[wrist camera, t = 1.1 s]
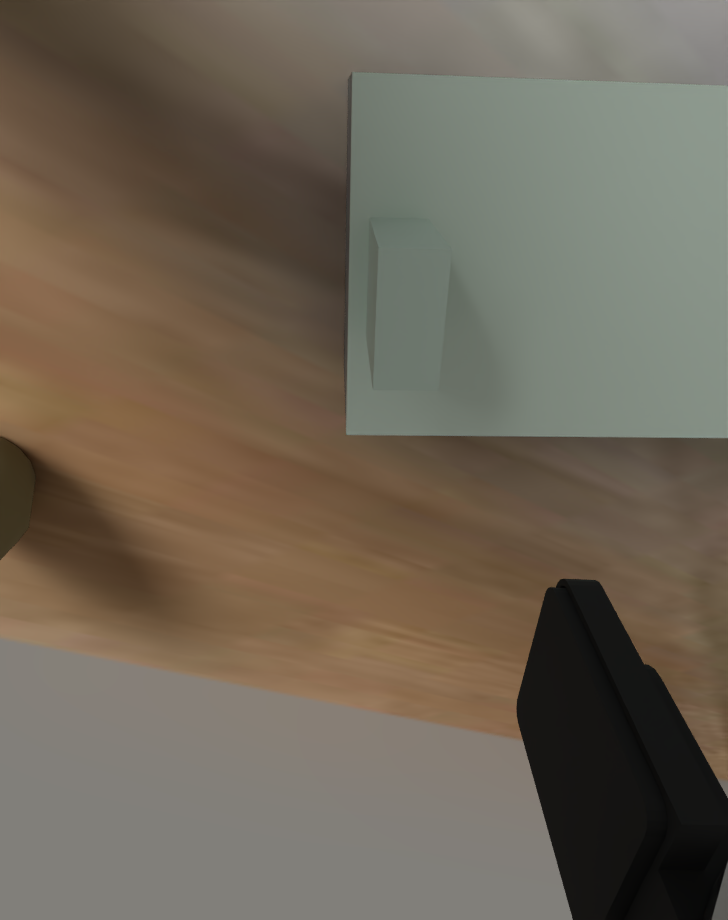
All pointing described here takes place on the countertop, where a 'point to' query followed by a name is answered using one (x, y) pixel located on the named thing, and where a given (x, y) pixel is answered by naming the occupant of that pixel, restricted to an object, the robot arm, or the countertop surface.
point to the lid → (537, 258)
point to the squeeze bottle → (14, 494)
